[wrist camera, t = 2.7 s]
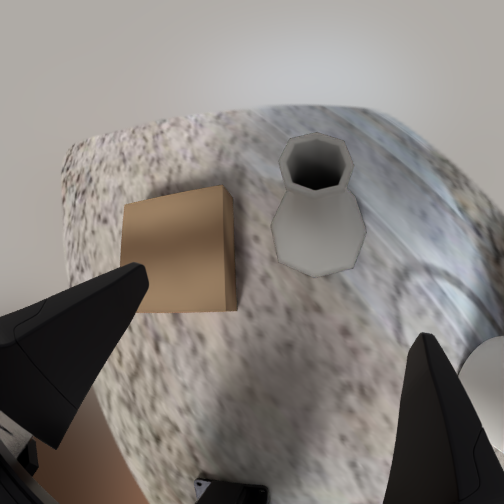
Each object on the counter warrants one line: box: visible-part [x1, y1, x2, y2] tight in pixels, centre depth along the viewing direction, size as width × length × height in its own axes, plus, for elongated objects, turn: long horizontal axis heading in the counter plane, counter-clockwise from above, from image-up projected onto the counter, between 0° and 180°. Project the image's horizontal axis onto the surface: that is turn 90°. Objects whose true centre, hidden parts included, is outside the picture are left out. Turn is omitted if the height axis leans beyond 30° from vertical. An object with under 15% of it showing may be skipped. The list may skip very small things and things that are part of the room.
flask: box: [271, 132, 367, 278], centre depth 16 cm, size 7×7×10 cm
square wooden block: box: [120, 185, 237, 313], centre depth 22 cm, size 9×9×3 cm
